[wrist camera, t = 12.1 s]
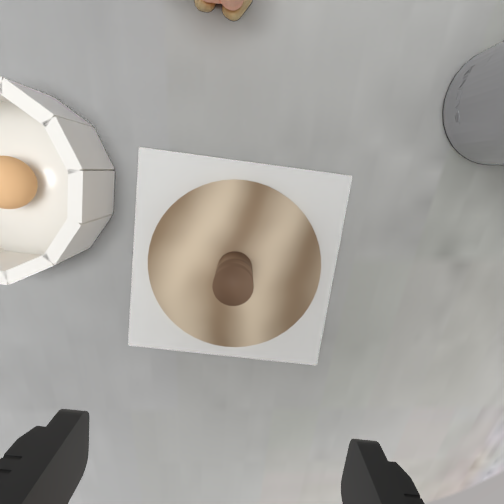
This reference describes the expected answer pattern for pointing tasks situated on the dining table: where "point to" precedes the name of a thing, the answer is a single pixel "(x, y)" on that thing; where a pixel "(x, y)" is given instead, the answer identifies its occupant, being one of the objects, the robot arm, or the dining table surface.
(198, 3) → the grandmother figurine
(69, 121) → the bowl
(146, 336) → the mat
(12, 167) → the apricot ball
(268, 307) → the lid
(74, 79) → the dining table surface
